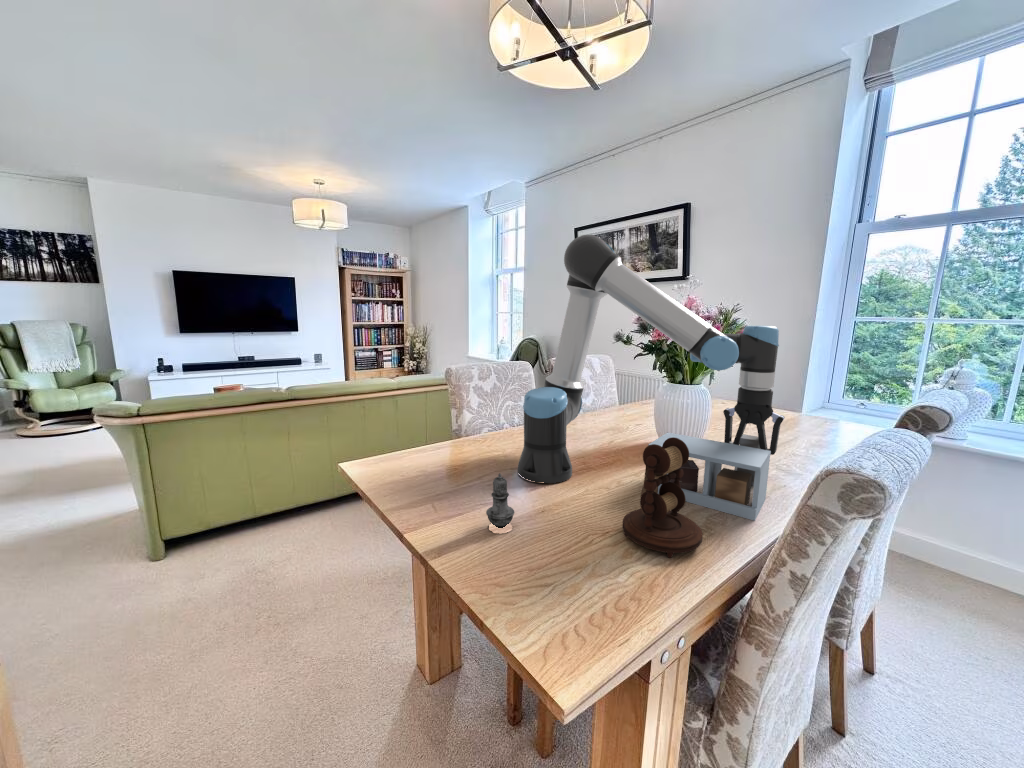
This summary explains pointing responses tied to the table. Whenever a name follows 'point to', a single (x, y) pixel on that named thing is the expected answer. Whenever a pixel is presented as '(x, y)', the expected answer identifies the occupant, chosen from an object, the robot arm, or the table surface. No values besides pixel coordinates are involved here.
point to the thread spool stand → (663, 503)
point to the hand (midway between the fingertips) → (746, 475)
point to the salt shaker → (500, 504)
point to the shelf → (714, 459)
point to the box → (689, 476)
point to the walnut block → (737, 478)
